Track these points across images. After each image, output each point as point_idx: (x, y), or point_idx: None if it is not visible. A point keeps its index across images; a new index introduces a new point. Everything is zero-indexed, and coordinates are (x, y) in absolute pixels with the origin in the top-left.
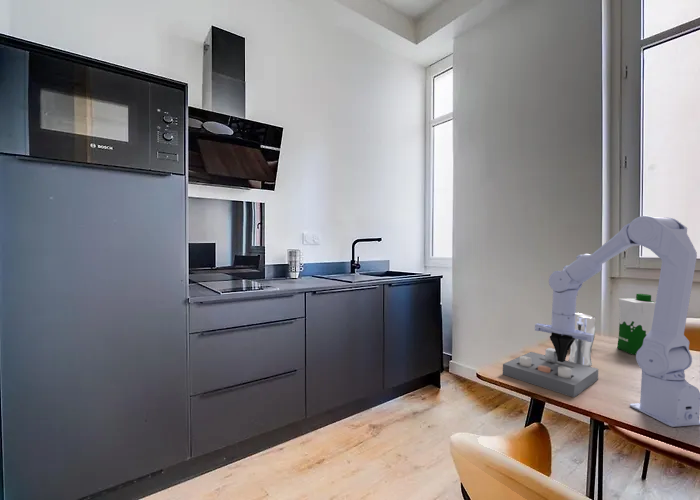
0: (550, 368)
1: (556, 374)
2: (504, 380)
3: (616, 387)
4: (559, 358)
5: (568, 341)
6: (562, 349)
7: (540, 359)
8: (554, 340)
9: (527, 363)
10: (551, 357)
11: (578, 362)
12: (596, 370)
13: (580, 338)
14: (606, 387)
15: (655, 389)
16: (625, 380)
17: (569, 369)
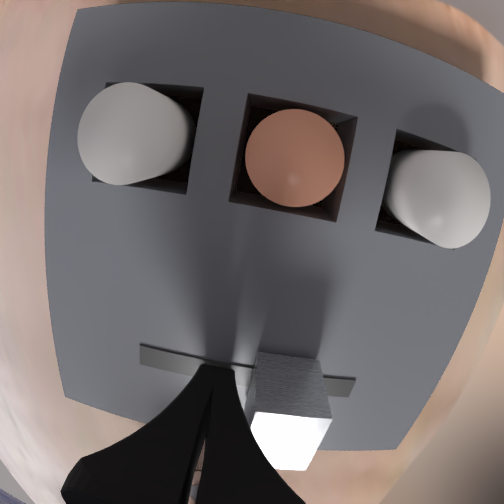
0: (246, 166)
1: (197, 132)
2: (448, 26)
3: (23, 316)
4: (218, 378)
5: (73, 471)
6: (176, 424)
7: (348, 374)
8: (249, 492)
9: (422, 157)
10: (277, 376)
11: (195, 480)
12: (61, 374)
13: (6, 501)
14: (38, 290)
15: None
16: (41, 403)
17: (90, 142)
